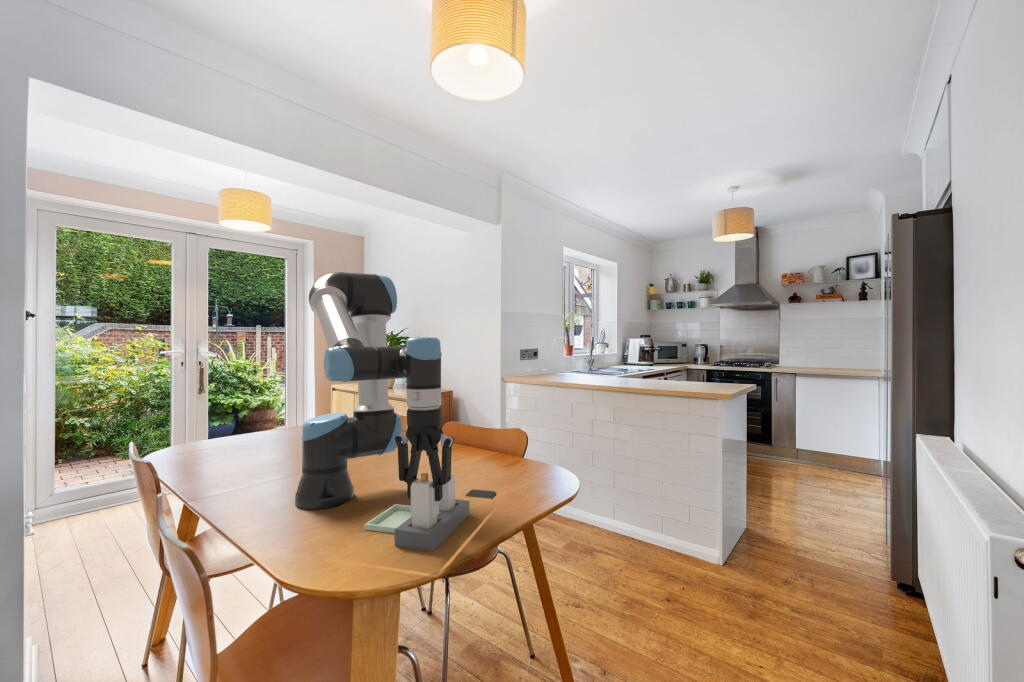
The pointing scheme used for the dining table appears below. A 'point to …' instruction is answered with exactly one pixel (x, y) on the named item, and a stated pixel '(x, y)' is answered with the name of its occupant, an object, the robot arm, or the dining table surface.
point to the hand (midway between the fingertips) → (425, 514)
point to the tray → (389, 519)
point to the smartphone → (481, 494)
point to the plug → (422, 503)
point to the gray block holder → (447, 522)
